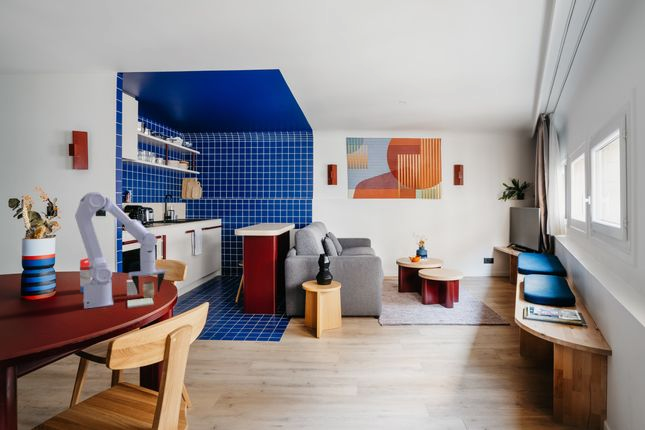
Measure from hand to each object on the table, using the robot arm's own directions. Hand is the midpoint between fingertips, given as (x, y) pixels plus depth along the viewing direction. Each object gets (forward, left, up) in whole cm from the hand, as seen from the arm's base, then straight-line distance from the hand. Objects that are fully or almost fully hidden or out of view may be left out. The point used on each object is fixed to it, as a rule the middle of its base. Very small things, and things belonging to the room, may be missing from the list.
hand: (148, 292), depth 154 cm
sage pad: (-4, -10, -2) cm, 10 cm away
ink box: (-22, +24, -2) cm, 33 cm away
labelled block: (0, 0, -2) cm, 2 cm away
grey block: (-6, +8, -2) cm, 10 cm away
